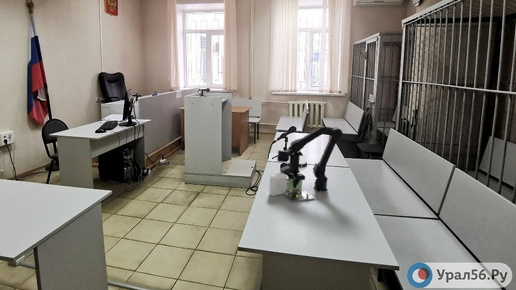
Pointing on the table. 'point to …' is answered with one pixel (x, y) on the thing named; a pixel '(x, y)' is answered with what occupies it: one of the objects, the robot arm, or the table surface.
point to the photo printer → (277, 184)
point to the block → (290, 184)
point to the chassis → (298, 196)
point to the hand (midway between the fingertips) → (292, 186)
